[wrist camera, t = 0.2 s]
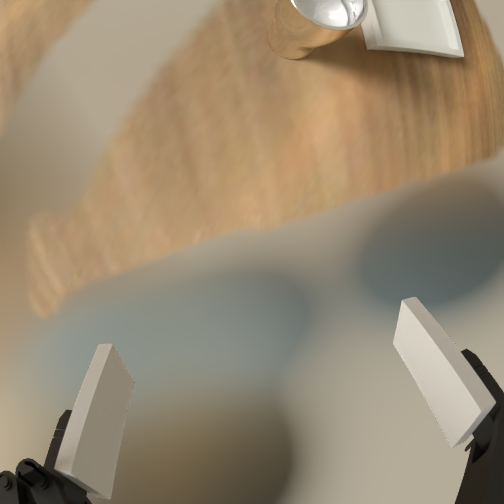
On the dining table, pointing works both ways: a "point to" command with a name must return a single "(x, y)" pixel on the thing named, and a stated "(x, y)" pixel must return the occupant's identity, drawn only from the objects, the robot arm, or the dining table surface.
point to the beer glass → (312, 24)
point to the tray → (412, 27)
